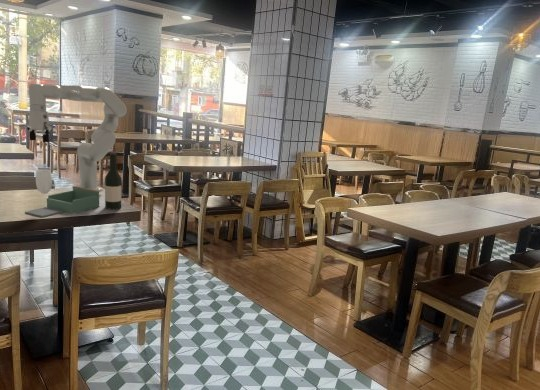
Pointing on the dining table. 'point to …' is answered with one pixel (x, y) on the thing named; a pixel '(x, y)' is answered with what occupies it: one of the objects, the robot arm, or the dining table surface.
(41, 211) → the rubber mat
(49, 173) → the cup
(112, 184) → the wine bottle
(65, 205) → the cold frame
